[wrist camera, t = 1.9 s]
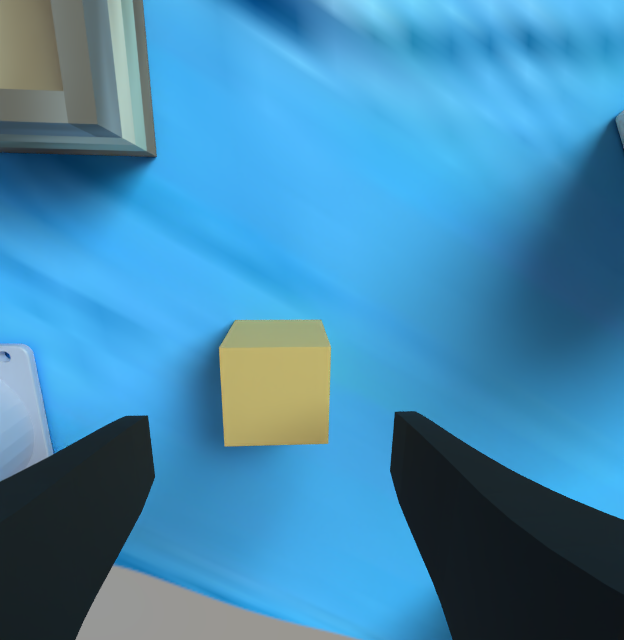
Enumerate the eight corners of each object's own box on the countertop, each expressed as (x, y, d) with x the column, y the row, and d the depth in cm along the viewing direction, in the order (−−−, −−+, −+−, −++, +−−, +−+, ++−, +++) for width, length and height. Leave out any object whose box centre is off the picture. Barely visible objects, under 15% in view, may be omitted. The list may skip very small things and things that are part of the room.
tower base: (-4, 152, 14) (-139, 116, 9) (-41, -40, 12) (-224, -188, 8) (156, 156, 14) (97, 124, 10) (140, -29, 13) (61, -164, 8)
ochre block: (239, 397, 17) (224, 446, 13) (235, 319, 16) (218, 347, 12) (319, 396, 17) (328, 443, 14) (321, 319, 16) (331, 346, 13)
